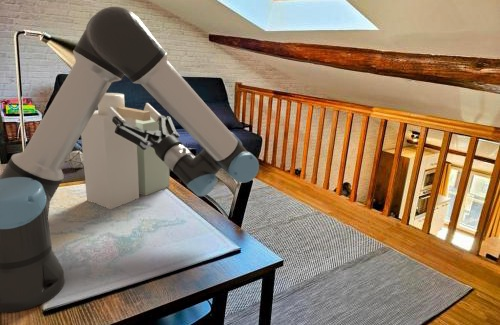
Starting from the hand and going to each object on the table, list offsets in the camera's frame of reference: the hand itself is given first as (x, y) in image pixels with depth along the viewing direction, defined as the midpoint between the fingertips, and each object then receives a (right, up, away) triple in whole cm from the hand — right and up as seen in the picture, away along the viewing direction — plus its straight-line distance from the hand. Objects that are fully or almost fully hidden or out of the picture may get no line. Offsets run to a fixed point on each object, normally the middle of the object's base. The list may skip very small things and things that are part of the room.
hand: (128, 108), depth 110 cm
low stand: (-2, -26, +27) cm, 37 cm away
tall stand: (-10, -29, +14) cm, 34 cm away
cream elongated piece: (-2, -2, +2) cm, 3 cm away
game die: (-36, -19, +43) cm, 59 cm away
